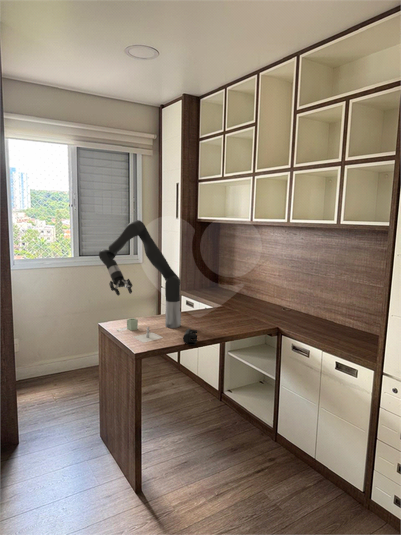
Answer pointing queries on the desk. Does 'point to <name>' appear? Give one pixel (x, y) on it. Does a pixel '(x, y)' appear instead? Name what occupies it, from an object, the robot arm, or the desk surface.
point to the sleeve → (132, 324)
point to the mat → (122, 329)
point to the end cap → (190, 337)
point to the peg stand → (147, 336)
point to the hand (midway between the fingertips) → (125, 293)
